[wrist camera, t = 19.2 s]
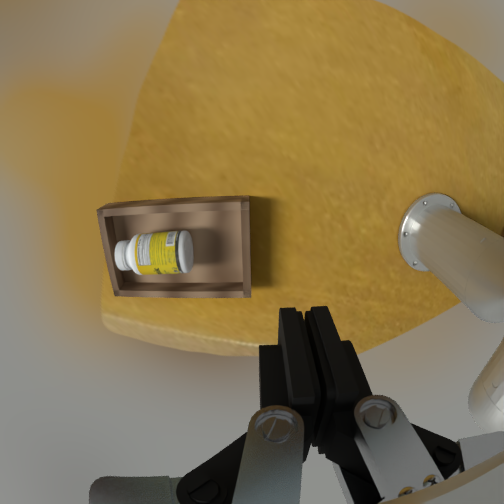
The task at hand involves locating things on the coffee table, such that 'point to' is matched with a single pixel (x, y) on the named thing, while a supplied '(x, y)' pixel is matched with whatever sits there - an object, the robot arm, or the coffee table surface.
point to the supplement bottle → (156, 253)
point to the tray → (204, 245)
